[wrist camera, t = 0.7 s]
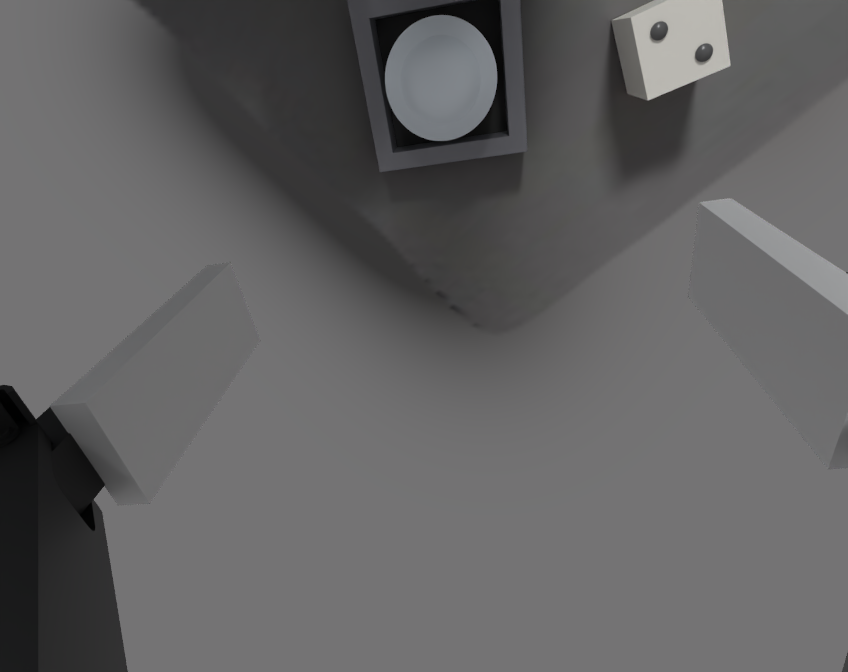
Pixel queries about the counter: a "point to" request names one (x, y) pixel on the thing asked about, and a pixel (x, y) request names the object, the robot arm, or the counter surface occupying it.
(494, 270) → the counter surface
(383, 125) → the frame
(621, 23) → the die
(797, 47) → the counter surface
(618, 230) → the counter surface
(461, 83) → the dome
